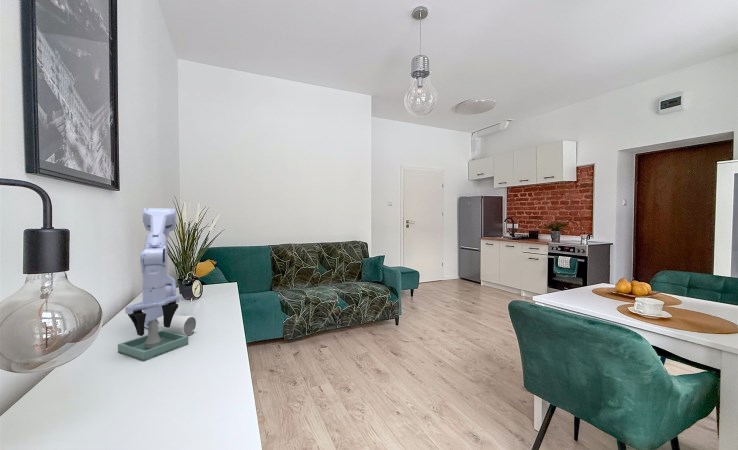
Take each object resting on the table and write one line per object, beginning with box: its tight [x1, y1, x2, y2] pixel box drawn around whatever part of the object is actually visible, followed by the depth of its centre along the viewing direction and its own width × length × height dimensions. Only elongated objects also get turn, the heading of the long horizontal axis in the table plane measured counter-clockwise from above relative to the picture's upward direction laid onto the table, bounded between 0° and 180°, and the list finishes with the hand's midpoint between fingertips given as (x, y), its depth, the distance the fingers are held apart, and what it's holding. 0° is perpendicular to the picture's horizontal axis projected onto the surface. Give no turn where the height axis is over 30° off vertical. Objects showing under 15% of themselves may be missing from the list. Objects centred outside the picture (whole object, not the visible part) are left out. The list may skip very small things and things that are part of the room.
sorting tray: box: [117, 330, 189, 362], centre depth 93 cm, size 13×13×2 cm
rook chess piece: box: [144, 319, 162, 349], centre depth 93 cm, size 4×4×8 cm
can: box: [154, 315, 197, 337], centre depth 104 cm, size 6×6×12 cm
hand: (154, 330), depth 93 cm, fingers open, 7 cm apart
